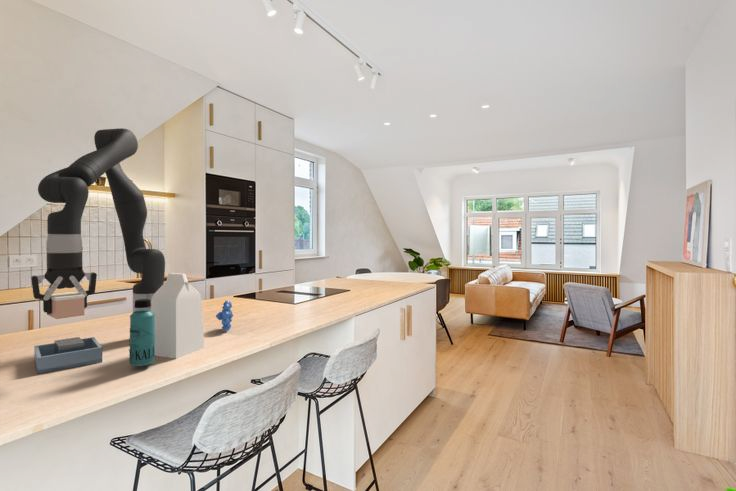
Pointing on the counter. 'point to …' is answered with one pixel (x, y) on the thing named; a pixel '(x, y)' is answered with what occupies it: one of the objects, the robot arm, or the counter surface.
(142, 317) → the beverage bottle
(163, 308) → the milk
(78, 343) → the iron block
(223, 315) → the grapes
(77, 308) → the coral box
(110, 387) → the counter surface
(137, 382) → the counter surface
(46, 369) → the box
